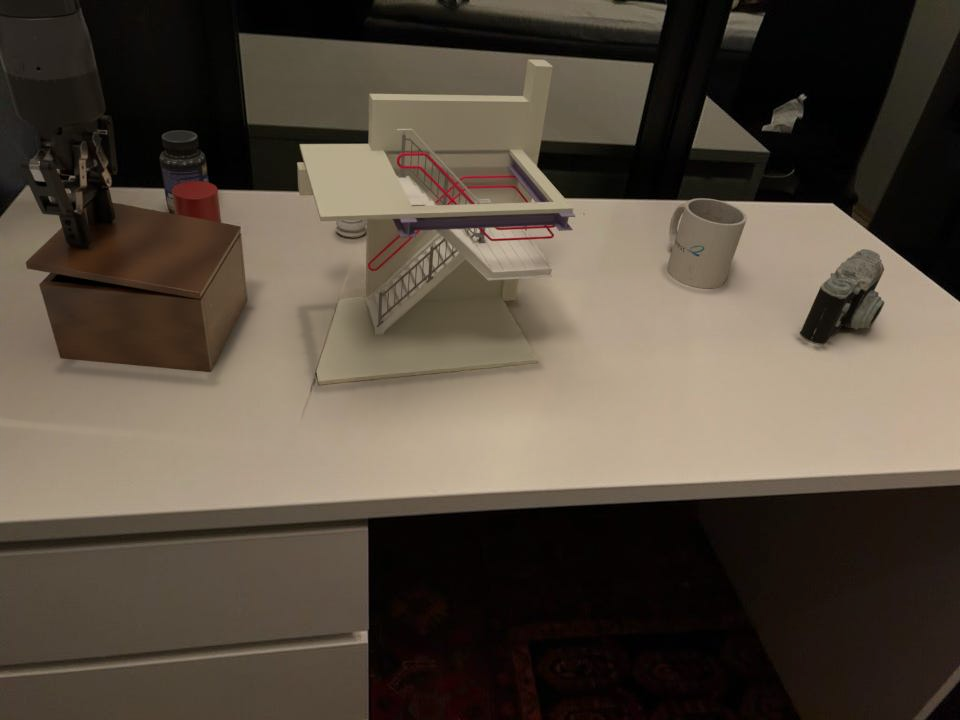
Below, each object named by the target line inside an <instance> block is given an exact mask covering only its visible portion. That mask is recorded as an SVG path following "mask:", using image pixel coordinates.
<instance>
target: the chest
mask: <svg viewBox="0 0 960 720" xmlns="http://www.w3.org/2000/svg"><path fill="white" fill-rule="evenodd" d="M246 280H247V279H246V269H245V258H244V248H243V238H242V232H240V234H239V236H238V237H237V239H236V241H235V242H234V244H233V246H232V247H231V249H230V250H229V252H228V254H227V255H226V257H225V259H224V260H223V262H222V264H221V265H220V267H219V269H218V270H217V272H216V273H215V275H214V277H213V278H212V280H211V282H210V283H209V285H208V287H207V288H206V290H205V292H204V293H203V295H202V296H201V298H200V299H197V298H191V297H185V296H180V295H174V294H168V293H162V292H157V291H151V290H145V289H140V288H134V287H128V286H123V285H117V284H111V283H106V282H100V281H94V280H88V279H83V278H77V277H71V276H66V275H60V274H54V273H48V275H46V277H45V278H44V279H43V280H42V281H41V282H40V283H39V284H38V285H39V289H40V293H41V296H42V299H43V303H44V307H45V310H46V313H47V317H48V320H49V323H50V324H49V325H50V327H51V331H52V333H53V334H52V335H53V337H54V341H55V345H56V348H57V351H58V354H59V355H58V356H59V358H60V359H63V360H74V361H85V362H94V363H107V364H117V365H129V366H138V367H139V366H140V367H148V368H149V367H150V368H159V369H160V368H161V369H173V370H181V371H182V370H183V371H193V372H204V373H212V371H213V368H214V366H215V365H216V363H217V361H218V359H219V357H220V355H221V353H222V351H223V349H224V347H225V345H226V343H227V341H228V339H229V337H230V335H231V334H232V331H233V329H234V327H235V326H236V324H237V321H238V319H239V318H240V316H241V314H242V311H243V310H244V307H245V306H246V304H247V302H248V291H247V281H246Z"/></svg>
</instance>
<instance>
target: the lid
mask: <svg viewBox="0 0 960 720" xmlns="http://www.w3.org/2000/svg"><path fill="white" fill-rule="evenodd" d="M98 194H99V191H98V188H97V187H96V186H95V185H93V184H91V183H87V187H86V189H84V190H83V191H82V196H83V211H84V212H85V216H86V220H87V224H88V228H89V232H90V236H91V239H92V243H91V244H90V245H89V246H88V247H86V248H84V247H72V246H70V245H68V244H67V242H66V239H65V235H64V232H63V228H62V227H61V228H60V229H58V230H57V231H56V232H55V233H54V234H53V235H52V236H51V237H49V239H48V240H46V242H45V243H44V244H43V245H42V246H41V247H40V248H39V249H37V250H36V251H35V253H33V254H32V255H31V256H30V257H29V258H28V259H27V260H26V261H25V265H26V269H27V270H32V271H37V272H38V271H39V272H43V273H48V274H50V273H54V274H60V275H66V276H71V277H77V278H83V279H88V280H94V281H100V282H106V283H111V284H117V285H123V286H128V287H134V288H140V289H145V290H151V291H157V292H162V293H168V294H174V295H180V296H185V297H191V298H197V299H200V298H201V296H202V295H203V293H204V292H205V290H206V288H207V287H208V285H209V283H210V282H211V280H212V278H213V277H214V275H215V273H216V272H217V270H218V269H219V267H220V265H221V264H222V262H223V260H224V259H225V257H226V255H227V254H228V252H229V250H230V249H231V247H232V246H233V244H234V242H235V241H236V239H237V237H238V236H239V234H240V233H242V232H241V231H242V227H241V225H235V224H231V223H224V222H221V223H220V222H214V221H209V220H204V219H198V218H193V217H188V216H182V215H177V214H173V213H171V212H166V211H161V210H155V209H150V208H145V207H139V206H133V205H128V204H124V203H118V202H113V201H112V204H113V208H114V212H115V219H114V220H113V221H112V222H111V223H107V222H97V216H96V208H95V198H96V197H97V196H98ZM69 199H70V201H72V199H71V197H70V198H69Z"/></svg>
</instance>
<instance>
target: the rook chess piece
mask: <svg viewBox="0 0 960 720" xmlns="http://www.w3.org/2000/svg"><path fill="white" fill-rule="evenodd" d="M335 225H336V226H335V232H336V233H337V234H338V235H339V236H341V237H343V238H346V239H357V238H361V237H362V236H364V235H365V234H366V233H367V227H366V226H367V221H366V220H343V221H335Z"/></svg>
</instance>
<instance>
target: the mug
mask: <svg viewBox="0 0 960 720" xmlns="http://www.w3.org/2000/svg"><path fill="white" fill-rule="evenodd" d="M747 220H748V217H747V215H746V213H745V212H744V211H743V210H742V209H741V208H739V207H738V206H735V205H733V204H731V203H729V202H726V201H722V200H719V199H713V198H705V197H699V198H692V199H689V200H688V201H686V202H684V203H681V204H679V205H678V206H677V207H676V209H675V210H674V212H673V214H672V217H671V218H670V223H669V227H668V228H669V230H668V236H669V244H670V245H671V247H672V249H671V252H670V255H669V258H668V262H667V266H666V270H667V272H668V274H669V275H670V276H671V277H672V278H674V279H675V280H676V281H678V282H679V283H682V284H684V285H687V286H690V287H693V288H699V289H716V288H719V287H721V286H723V285H724V284H725V282H726V280H727V277H728V274H729V271H730V269H731V266H732V263H733V260H734V257H735V255H736V252H737V248H738V246H739V243H740V239H741V237H742V234H743V231H744V228H745V225H746V222H747Z"/></svg>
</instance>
